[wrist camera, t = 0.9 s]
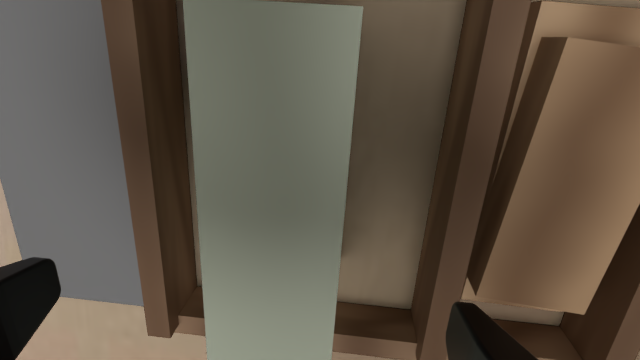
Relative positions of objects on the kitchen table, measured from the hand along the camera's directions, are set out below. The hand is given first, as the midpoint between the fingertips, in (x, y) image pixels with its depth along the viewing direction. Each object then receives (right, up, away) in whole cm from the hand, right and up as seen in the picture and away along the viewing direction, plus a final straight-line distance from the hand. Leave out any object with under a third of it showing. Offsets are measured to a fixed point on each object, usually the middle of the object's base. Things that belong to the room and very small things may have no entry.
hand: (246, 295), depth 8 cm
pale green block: (+1, +4, +10) cm, 11 cm away
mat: (-11, +4, +12) cm, 17 cm away
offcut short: (+12, +3, +8) cm, 15 cm away
